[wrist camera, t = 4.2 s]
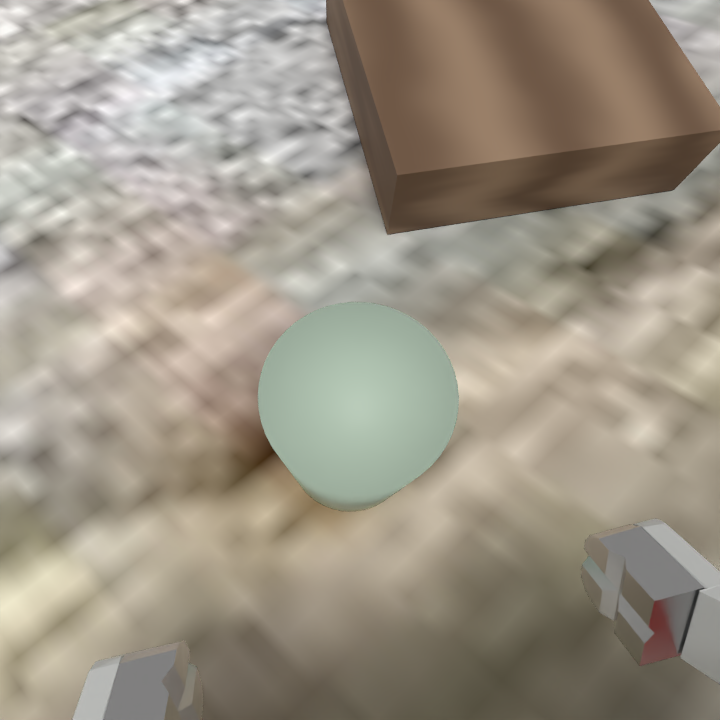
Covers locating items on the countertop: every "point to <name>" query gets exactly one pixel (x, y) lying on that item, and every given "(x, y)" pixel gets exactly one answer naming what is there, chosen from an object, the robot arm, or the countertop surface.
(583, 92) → the walnut base
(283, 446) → the sage capsule
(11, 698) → the countertop surface
